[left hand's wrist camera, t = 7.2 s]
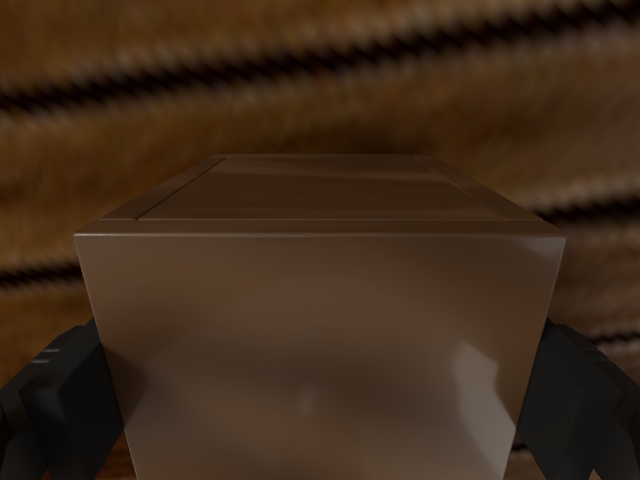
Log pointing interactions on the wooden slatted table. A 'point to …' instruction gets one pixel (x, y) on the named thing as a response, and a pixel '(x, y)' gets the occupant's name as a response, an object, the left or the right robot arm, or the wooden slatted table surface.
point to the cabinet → (320, 318)
